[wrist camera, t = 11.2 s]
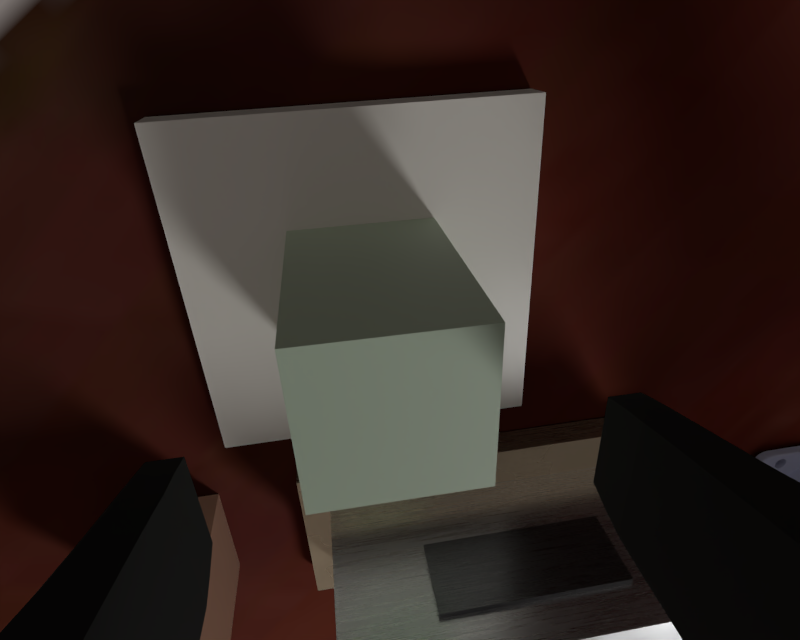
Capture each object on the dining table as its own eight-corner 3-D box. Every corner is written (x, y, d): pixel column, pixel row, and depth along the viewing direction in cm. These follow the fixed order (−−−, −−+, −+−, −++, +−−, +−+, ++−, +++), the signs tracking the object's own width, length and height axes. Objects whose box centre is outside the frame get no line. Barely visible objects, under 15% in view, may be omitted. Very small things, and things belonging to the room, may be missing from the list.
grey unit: (656, 409, 21) (801, 566, 15) (631, 515, 24) (743, 682, 18) (296, 462, 19) (292, 662, 13) (317, 568, 22) (322, 772, 16)
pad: (531, 88, 14) (546, 92, 13) (512, 388, 19) (521, 405, 18) (145, 117, 13) (133, 123, 12) (229, 427, 18) (225, 448, 17)
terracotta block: (218, 493, 19) (186, 663, 14) (239, 564, 21) (218, 735, 16) (104, 510, 19) (28, 691, 14) (136, 580, 21) (80, 762, 16)
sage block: (433, 217, 14) (505, 322, 9) (435, 341, 16) (495, 486, 11) (286, 231, 14) (275, 349, 9) (306, 357, 16) (305, 515, 11)
